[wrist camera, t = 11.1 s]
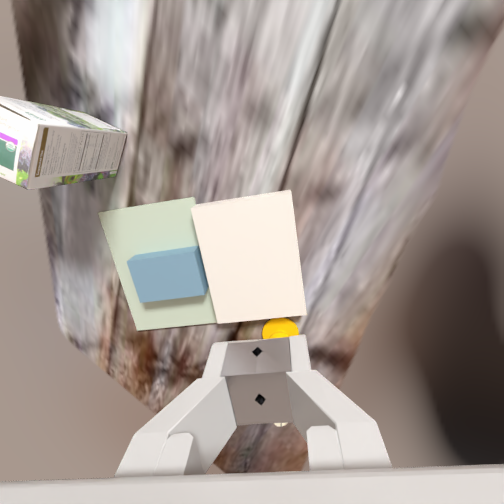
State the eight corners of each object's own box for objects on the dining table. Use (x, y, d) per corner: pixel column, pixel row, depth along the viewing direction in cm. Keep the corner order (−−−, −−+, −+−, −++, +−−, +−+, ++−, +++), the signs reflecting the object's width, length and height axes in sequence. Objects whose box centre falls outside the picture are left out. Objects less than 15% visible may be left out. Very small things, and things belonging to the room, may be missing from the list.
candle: (305, 326, 43) (318, 420, 28) (287, 353, 45) (291, 454, 30) (272, 310, 42) (269, 397, 28) (256, 338, 44) (244, 433, 30)
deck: (196, 204, 38) (190, 208, 36) (290, 189, 37) (291, 192, 34) (221, 314, 43) (217, 323, 41) (305, 305, 42) (306, 314, 39)
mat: (99, 212, 40) (97, 212, 39) (194, 196, 38) (193, 197, 38) (138, 328, 45) (137, 330, 45) (222, 320, 44) (221, 322, 43)
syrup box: (74, 157, 38) (-43, 164, 24) (84, 109, 36) (-37, 87, 22) (116, 176, 38) (25, 194, 24) (129, 130, 36) (38, 122, 22)
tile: (135, 254, 41) (126, 261, 38) (198, 245, 40) (193, 251, 37) (147, 294, 43) (140, 302, 40) (208, 286, 41) (204, 294, 39)
